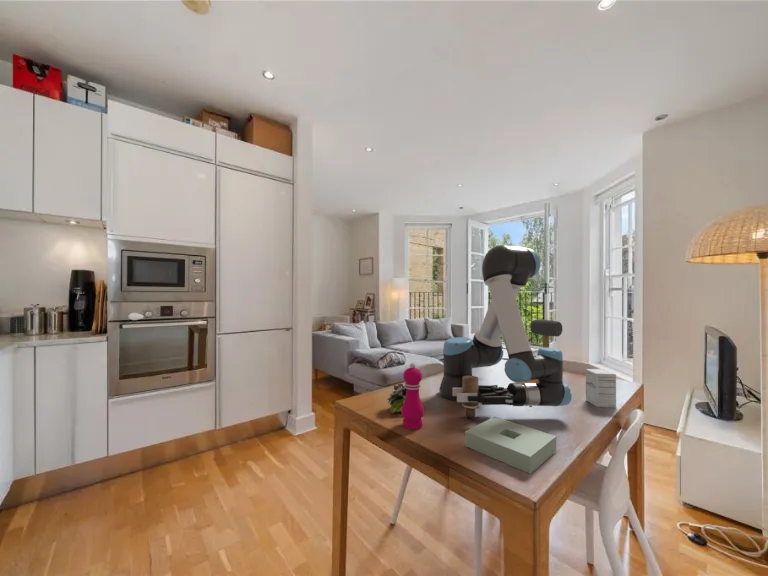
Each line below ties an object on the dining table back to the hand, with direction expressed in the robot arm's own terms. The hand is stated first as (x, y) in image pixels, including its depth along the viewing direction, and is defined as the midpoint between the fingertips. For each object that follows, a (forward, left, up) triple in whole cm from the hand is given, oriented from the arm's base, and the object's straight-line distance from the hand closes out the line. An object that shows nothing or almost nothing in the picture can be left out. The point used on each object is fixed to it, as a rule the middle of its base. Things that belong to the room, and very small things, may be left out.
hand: (455, 394), depth 107 cm
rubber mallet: (+4, +66, -8) cm, 67 cm away
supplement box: (+29, +54, -8) cm, 61 cm away
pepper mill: (-6, -15, -8) cm, 18 cm away
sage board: (+22, -6, -8) cm, 24 cm away
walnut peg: (+3, +4, -7) cm, 9 cm away
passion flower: (-17, -8, -8) cm, 20 cm away
